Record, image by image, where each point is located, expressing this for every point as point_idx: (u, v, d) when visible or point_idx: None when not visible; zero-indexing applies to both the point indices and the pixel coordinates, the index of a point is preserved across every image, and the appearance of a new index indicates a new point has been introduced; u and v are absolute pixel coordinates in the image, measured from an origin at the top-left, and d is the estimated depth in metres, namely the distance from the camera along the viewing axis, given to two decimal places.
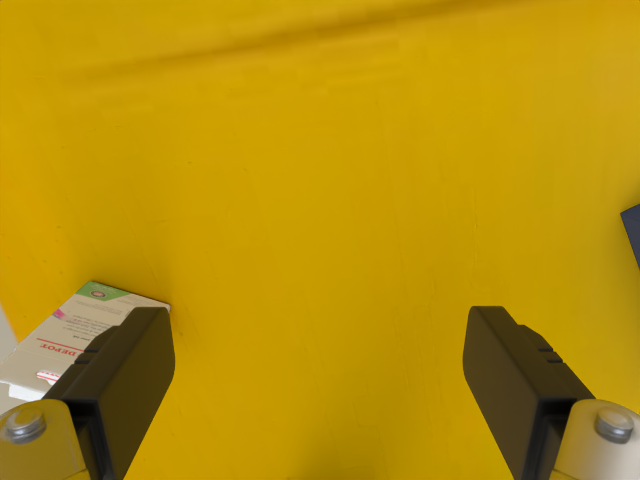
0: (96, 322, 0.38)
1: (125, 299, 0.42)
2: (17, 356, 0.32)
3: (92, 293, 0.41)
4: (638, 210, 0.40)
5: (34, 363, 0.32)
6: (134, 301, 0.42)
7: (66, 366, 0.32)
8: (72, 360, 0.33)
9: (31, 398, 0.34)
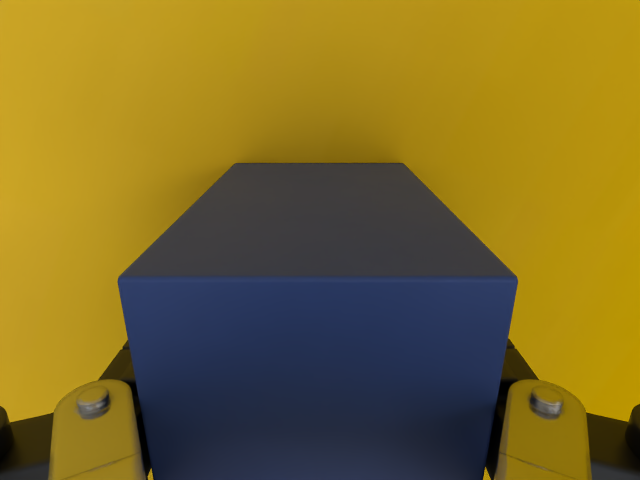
0: None
1: None
2: None
3: None
4: None
5: None
6: None
7: None
8: None
9: None
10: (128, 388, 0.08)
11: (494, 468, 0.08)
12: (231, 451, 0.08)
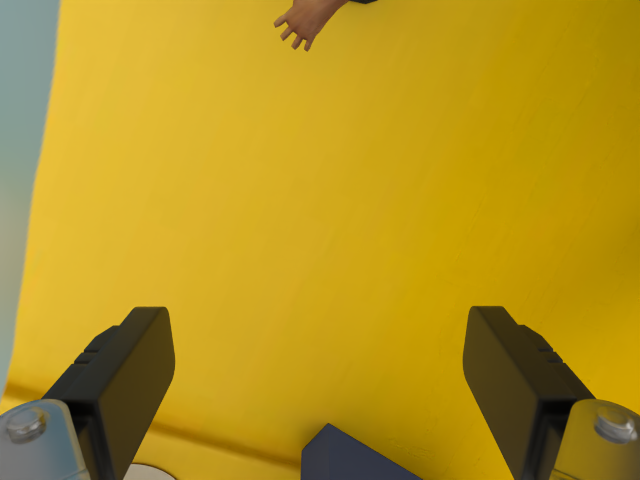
0: None
1: None
2: None
3: None
4: None
5: None
6: None
7: None
8: None
9: None
10: (66, 409, 0.07)
11: None
12: None
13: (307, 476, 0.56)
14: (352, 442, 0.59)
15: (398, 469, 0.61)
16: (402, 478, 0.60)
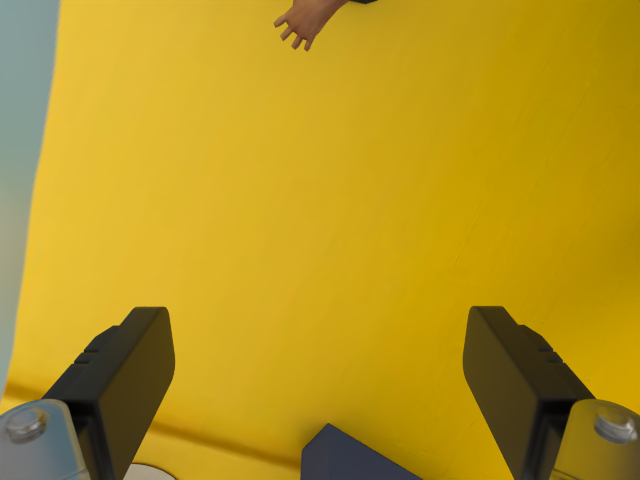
0: None
1: None
2: None
3: None
4: None
5: None
6: None
7: None
8: None
9: None
10: (66, 409, 0.07)
11: None
12: None
13: (307, 476, 0.56)
14: (352, 442, 0.59)
15: (398, 469, 0.61)
16: (402, 478, 0.60)
